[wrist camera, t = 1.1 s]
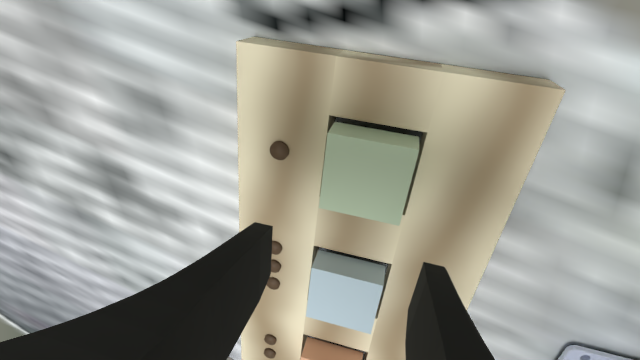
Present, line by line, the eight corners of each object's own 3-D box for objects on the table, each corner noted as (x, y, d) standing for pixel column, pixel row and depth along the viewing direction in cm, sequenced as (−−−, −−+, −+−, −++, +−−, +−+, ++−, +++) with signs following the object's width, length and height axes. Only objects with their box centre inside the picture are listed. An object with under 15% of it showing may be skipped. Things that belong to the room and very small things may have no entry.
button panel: (548, 79, 15) (567, 91, 14) (413, 403, 28) (413, 432, 26) (253, 36, 18) (234, 41, 16) (251, 354, 30) (240, 378, 28)
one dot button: (419, 136, 16) (419, 149, 15) (400, 208, 18) (399, 225, 17) (334, 121, 17) (327, 132, 15) (325, 192, 19) (318, 208, 17)
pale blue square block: (385, 265, 20) (383, 285, 19) (373, 313, 22) (370, 334, 21) (318, 249, 21) (311, 267, 19) (312, 296, 23) (305, 316, 21)
